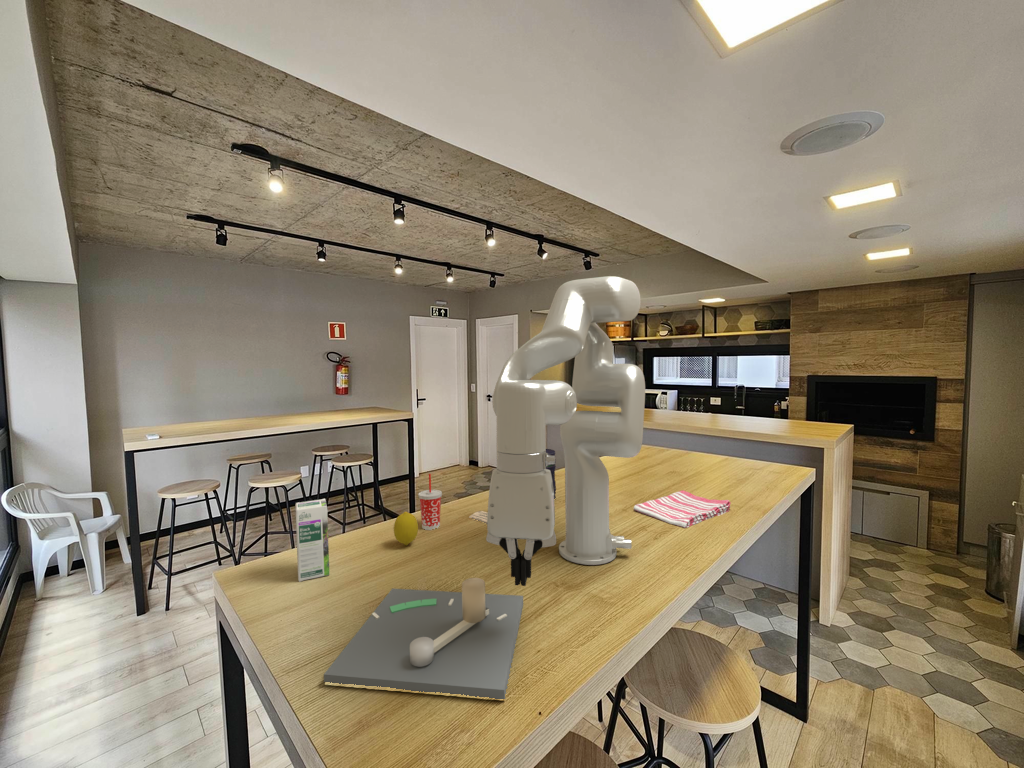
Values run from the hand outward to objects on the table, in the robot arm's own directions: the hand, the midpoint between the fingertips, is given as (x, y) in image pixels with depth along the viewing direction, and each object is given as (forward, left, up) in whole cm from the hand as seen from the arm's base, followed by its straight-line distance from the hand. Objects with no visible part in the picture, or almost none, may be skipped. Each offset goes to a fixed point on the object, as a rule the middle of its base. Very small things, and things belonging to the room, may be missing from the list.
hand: (521, 581), depth 66 cm
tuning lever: (+10, +4, -7) cm, 13 cm away
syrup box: (+45, -16, -9) cm, 48 cm away
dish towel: (-39, -62, -9) cm, 74 cm away
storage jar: (+2, -70, -9) cm, 70 cm away
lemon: (+31, -31, -9) cm, 44 cm away
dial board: (+13, +2, -9) cm, 16 cm away
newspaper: (+8, -46, -10) cm, 48 cm away
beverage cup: (+29, -43, -9) cm, 52 cm away
